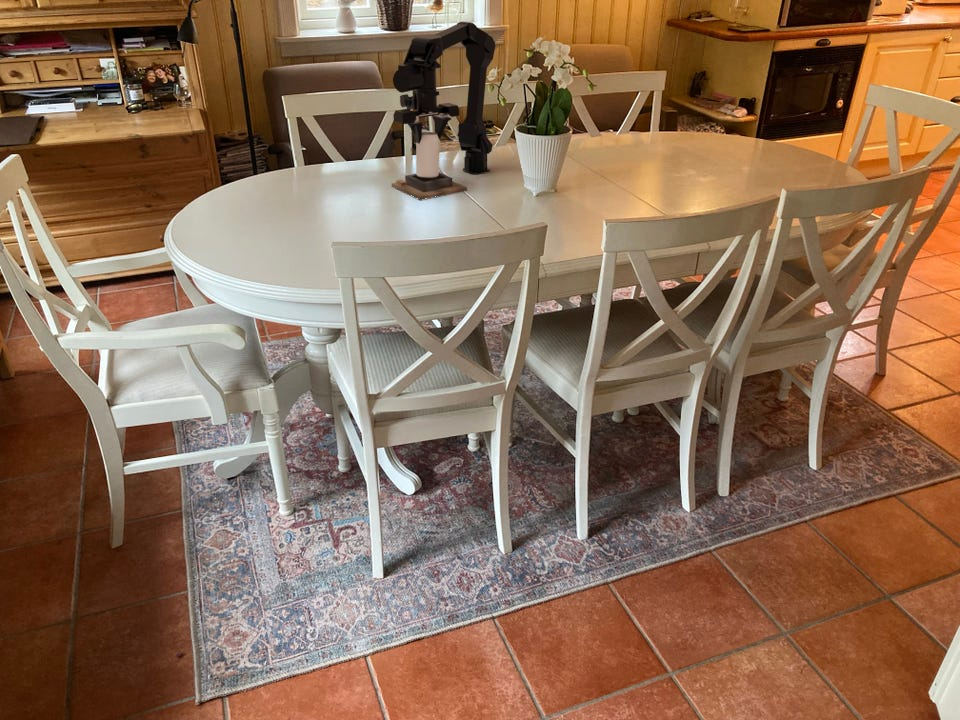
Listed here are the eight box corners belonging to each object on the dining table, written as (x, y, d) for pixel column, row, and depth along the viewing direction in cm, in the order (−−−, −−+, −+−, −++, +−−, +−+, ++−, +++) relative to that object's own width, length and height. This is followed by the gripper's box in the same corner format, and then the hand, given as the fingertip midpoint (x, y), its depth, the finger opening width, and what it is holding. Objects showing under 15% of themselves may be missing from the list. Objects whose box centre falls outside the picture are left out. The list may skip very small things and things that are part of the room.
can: (423, 178, 214) (423, 134, 209) (412, 175, 218) (412, 132, 214) (442, 177, 217) (443, 134, 212) (431, 173, 222) (431, 131, 217)
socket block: (437, 177, 231) (437, 166, 229) (466, 190, 219) (466, 178, 218) (391, 186, 223) (391, 174, 221) (420, 200, 211) (419, 188, 210)
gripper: (438, 79, 217) (440, 134, 225) (381, 86, 208) (385, 143, 215) (460, 85, 209) (461, 141, 217) (402, 92, 200) (405, 151, 208)
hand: (428, 144), depth 215 cm, fingers closed on can, 6 cm apart
